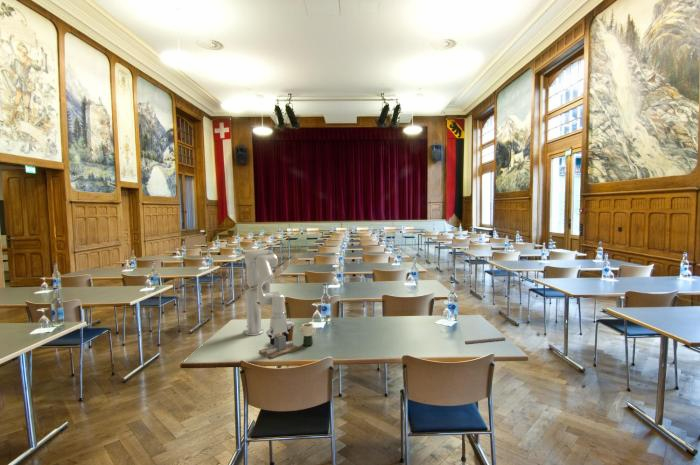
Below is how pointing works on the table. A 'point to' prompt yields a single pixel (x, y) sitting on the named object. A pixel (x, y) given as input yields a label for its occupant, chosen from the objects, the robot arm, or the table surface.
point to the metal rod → (485, 340)
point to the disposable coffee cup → (290, 335)
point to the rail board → (273, 351)
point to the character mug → (307, 333)
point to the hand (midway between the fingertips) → (279, 342)
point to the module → (280, 342)
